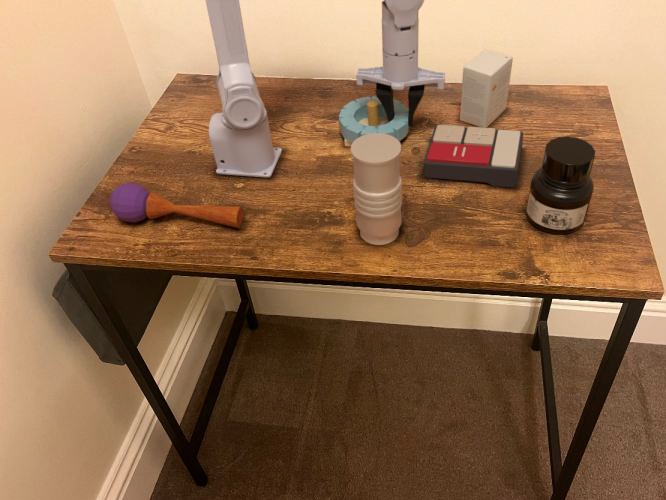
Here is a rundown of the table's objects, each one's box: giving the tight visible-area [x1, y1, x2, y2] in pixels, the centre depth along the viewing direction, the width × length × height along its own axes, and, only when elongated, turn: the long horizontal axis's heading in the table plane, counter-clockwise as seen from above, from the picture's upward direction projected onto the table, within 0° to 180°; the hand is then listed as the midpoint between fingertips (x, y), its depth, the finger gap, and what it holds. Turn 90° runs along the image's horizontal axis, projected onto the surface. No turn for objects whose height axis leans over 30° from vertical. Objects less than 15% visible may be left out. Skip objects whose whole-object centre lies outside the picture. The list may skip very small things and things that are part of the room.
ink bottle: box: [525, 136, 596, 235], centre depth 90 cm, size 10×9×12 cm
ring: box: [338, 95, 410, 143], centre depth 109 cm, size 12×12×3 cm
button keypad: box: [423, 124, 524, 189], centre depth 103 cm, size 11×4×15 cm
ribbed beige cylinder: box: [350, 133, 403, 246], centre depth 88 cm, size 7×7×15 cm
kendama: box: [109, 182, 245, 229], centre depth 94 cm, size 6×6×20 cm
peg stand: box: [343, 101, 389, 148], centre depth 109 cm, size 9×9×6 cm
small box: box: [459, 48, 514, 128], centre depth 110 cm, size 8×6×10 cm
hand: (400, 122), depth 108 cm, fingers closed on ring, 3 cm apart
